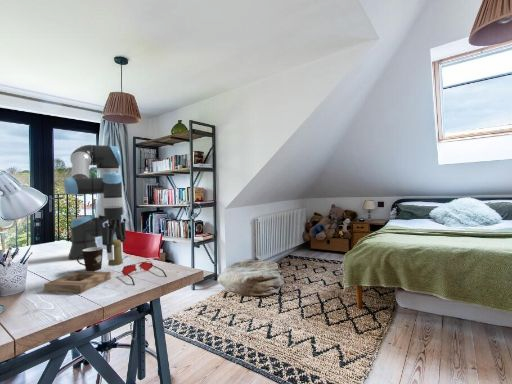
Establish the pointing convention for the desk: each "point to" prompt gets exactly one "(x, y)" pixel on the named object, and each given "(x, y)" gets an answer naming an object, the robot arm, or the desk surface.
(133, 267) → the glasses
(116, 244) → the cork
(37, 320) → the desk surface
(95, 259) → the coffee mug
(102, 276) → the socket block
